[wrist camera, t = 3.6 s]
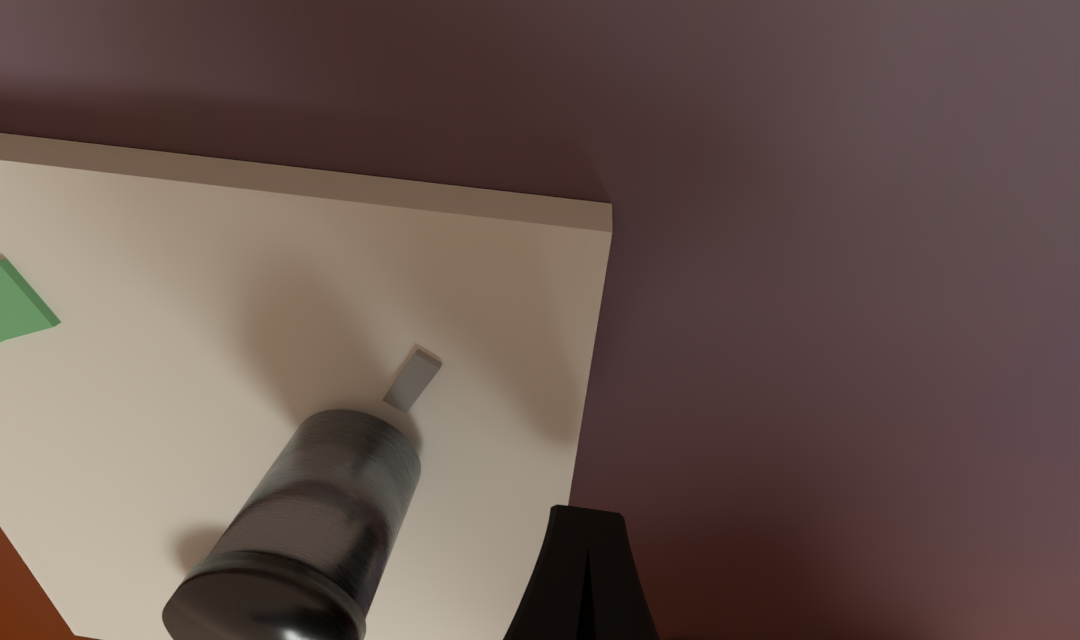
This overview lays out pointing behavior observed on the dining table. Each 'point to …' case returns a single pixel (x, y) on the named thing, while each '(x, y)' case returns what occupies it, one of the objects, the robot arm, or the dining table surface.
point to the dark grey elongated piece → (305, 538)
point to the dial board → (281, 368)
